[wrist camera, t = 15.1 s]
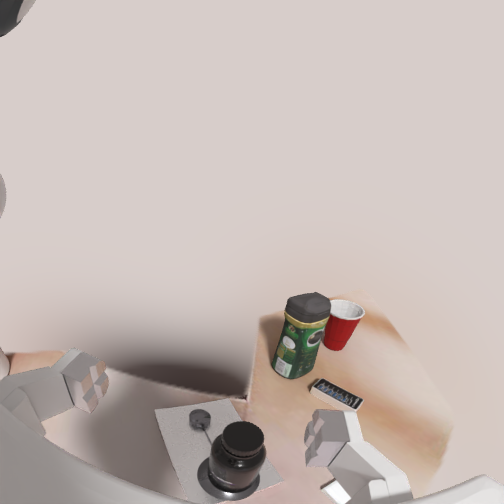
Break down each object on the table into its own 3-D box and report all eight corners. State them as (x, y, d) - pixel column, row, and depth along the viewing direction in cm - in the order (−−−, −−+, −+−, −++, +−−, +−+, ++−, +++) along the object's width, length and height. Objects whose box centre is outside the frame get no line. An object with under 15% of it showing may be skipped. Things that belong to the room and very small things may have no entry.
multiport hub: (318, 384, 54) (322, 377, 53) (360, 406, 47) (364, 399, 46) (308, 394, 50) (311, 386, 50) (352, 418, 44) (356, 410, 43)
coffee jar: (294, 353, 64) (312, 285, 59) (317, 370, 58) (340, 300, 53) (264, 364, 58) (281, 292, 53) (288, 384, 52) (310, 309, 47)
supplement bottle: (207, 493, 25) (211, 457, 22) (207, 457, 31) (212, 411, 28) (257, 494, 26) (277, 457, 22) (253, 459, 32) (268, 414, 29)
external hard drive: (399, 480, 27) (351, 522, 21) (369, 456, 34) (319, 491, 27) (404, 476, 27) (356, 519, 20) (374, 451, 33) (323, 487, 27)
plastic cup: (308, 335, 73) (319, 297, 70) (340, 334, 76) (351, 298, 73) (324, 358, 63) (338, 317, 60) (357, 354, 66) (372, 316, 63)
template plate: (193, 513, 22) (193, 509, 21) (154, 412, 39) (153, 405, 38) (284, 485, 28) (287, 480, 28) (227, 400, 45) (229, 394, 45)
